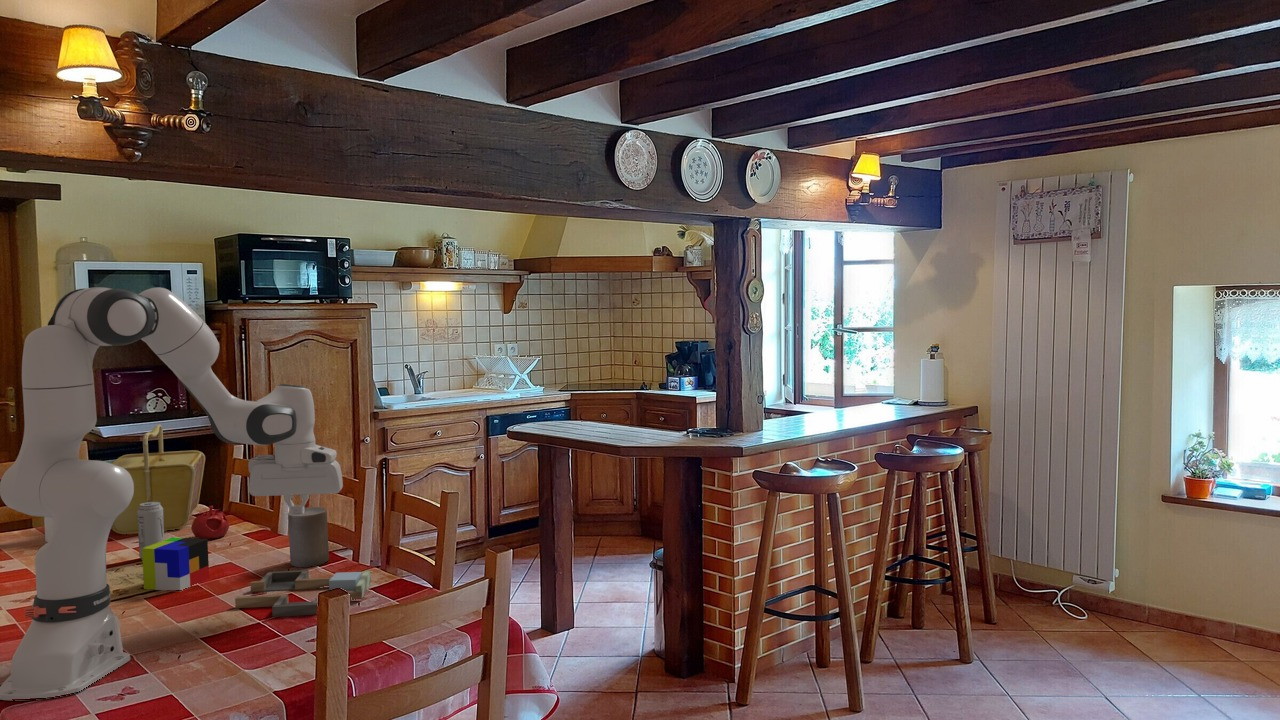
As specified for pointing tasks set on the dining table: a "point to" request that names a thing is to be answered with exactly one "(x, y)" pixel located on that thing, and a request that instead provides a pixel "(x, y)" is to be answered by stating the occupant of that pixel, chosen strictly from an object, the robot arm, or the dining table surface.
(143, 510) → the energy drink can
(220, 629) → the dining table surface
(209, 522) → the pomegranate
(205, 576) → the puzzle toy
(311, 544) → the pillar candle
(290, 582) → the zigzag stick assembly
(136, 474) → the picnic basket
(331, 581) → the block
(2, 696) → the robot arm
